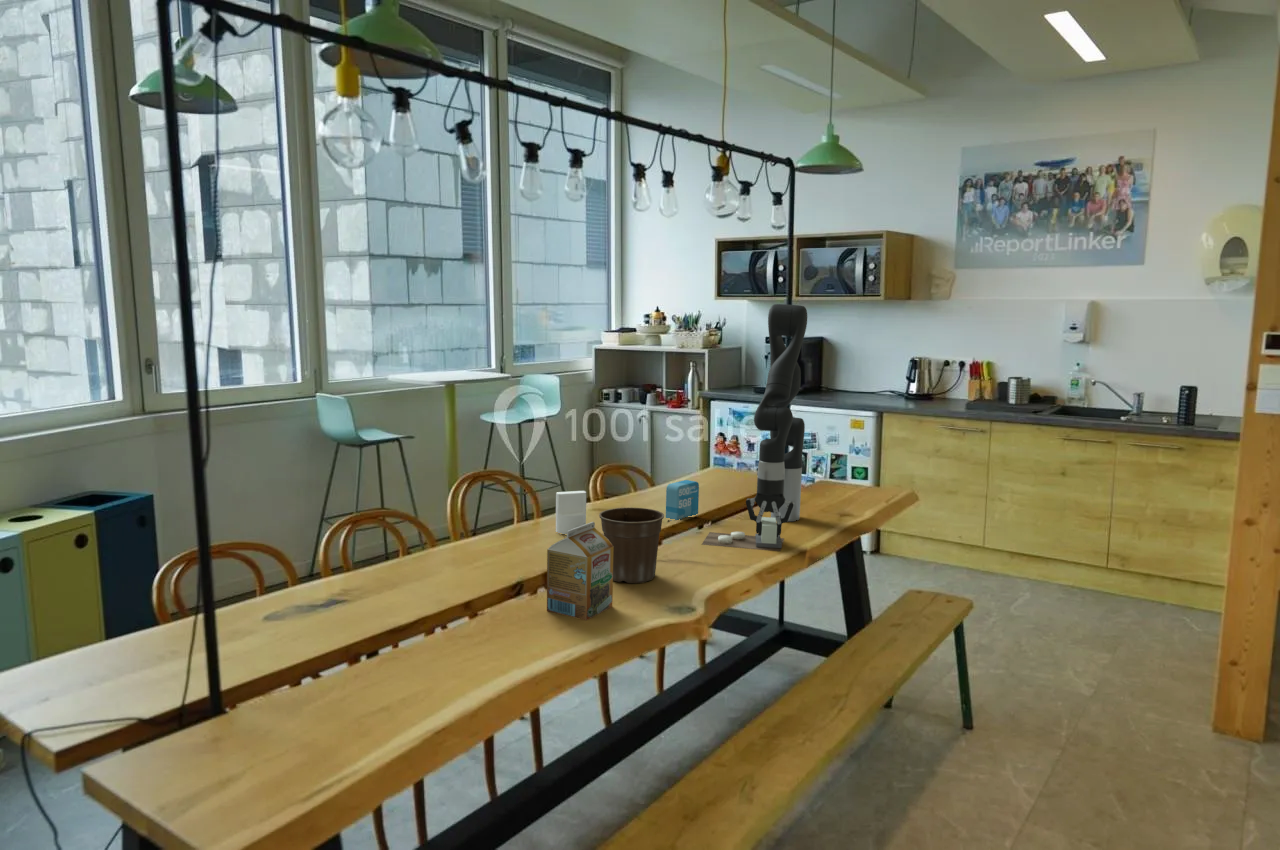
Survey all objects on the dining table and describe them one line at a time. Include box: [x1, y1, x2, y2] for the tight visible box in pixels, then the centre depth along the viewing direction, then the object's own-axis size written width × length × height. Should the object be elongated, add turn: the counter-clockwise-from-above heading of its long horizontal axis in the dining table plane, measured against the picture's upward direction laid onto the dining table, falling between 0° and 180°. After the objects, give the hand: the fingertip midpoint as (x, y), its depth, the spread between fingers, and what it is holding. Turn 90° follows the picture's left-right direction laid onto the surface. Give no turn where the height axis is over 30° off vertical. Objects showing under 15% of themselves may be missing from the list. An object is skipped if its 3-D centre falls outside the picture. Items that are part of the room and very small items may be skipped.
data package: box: [665, 479, 700, 520], centre depth 277 cm, size 12×4×12 cm, turn 141°
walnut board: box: [701, 531, 785, 552], centre depth 247 cm, size 14×22×2 cm, turn 76°
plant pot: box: [598, 507, 665, 584], centre depth 216 cm, size 16×16×16 cm
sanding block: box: [754, 516, 783, 549], centre depth 245 cm, size 10×7×6 cm
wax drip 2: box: [730, 531, 746, 540], centre depth 250 cm, size 4×4×2 cm
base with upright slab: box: [555, 490, 587, 534], centre depth 259 cm, size 9×9×12 cm
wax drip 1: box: [718, 535, 732, 544], centre depth 246 cm, size 4×4×2 cm
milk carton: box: [546, 521, 614, 621], centre depth 192 cm, size 11×10×19 cm
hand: (768, 535), depth 245 cm, fingers closed on sanding block, 4 cm apart
